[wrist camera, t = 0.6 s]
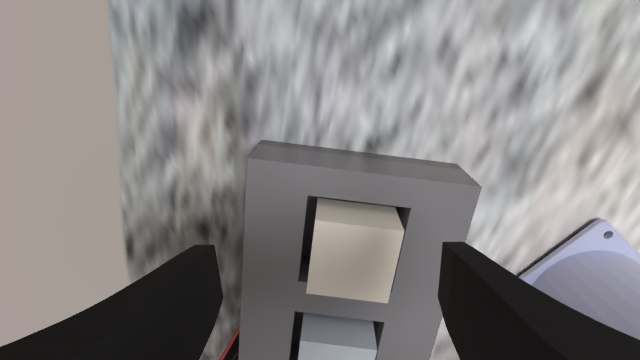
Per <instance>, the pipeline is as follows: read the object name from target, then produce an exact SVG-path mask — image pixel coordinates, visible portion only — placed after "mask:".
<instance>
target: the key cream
mask: <svg viewBox="0 0 640 360" xmlns="http://www.w3.org/2000/svg"><path fill="white" fill-rule="evenodd" d="M403 235H404V229H403V226H402V224H401V221H400V218H399V216H398V213H397V211H396V208H395V207H388V206H380V205H372V204H364V203H355V202H347V201H339V200H331V199H323V198H318V200H317V208H316V216H315V224H314V232H313V240H312V248H311V256H310V264H309V273H308V281H307V289H306V294H315V295H323V296H331V297H339V298H347V299H355V300H363V301H372V302H380V303H388V301H389V296H390V292H391V287H392V283H393V279H394V274H395V270H396V266H397V261H398V257H399V253H400V248H401V244H402V240H403Z"/></svg>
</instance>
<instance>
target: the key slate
mask: <svg viewBox="0 0 640 360" xmlns="http://www.w3.org/2000/svg"><path fill="white" fill-rule="evenodd" d="M376 353H377V345H376V338H375V331H374V324H373V321H370V320H362V319H354V318H346V317H337V316H329V315H321V314H313V313H305V312H304V314H303V322H302V330H301V338H300V346H299V354H298V360H375V357H376Z"/></svg>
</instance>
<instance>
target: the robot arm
mask: <svg viewBox="0 0 640 360" xmlns="http://www.w3.org/2000/svg"><path fill="white" fill-rule="evenodd" d="M607 231H608V233H607V234H606V235H604V233H605V232H607ZM222 299H223V293H222V287H221V281H220V276H219V270H218V264H217V258H216V252H215V246H214V245H195V246H193V247H191V248H189V249H187V250H185V251H184V252H182V253H180V254H179V255H177V256H176V257H174V258H172V259H171V260H169V261H168V262H166V263H165V264H163V265H161V266H160V267H158V268H157V269H155V270H153V271H152V272H150V273H149V274H147V275H146V276H144V277H142V278H141V279H139V280H137V281H136V282H134V283H132V284H131V285H129V286H127V287H125V288H124V289H122V290H120V291H119V292H117V293H115V294H113V295H112V296H110V297H109V298H107V299H105V300H103V301H101V302H99V303H97V304H95V305H94V306H92V307H90V308H88V309H86V310H84V311H82V312H79V313H78V314H76V315H73V316H72V317H69V318H67V319H65V320H63V321H61V322H59V323H56V324H54V325H52V326H49V327H47V328H45V329H42V330H40V331H38V332H36V333H33V334H31V335H28V336H26V337H24V338H22V339H19V340H17V341H14V342H12V343H9V344H7V345H4V346H2V347H0V360H199V358H200V356H201V354H202V352H203V350H204V347H205V345H206V343H207V341H208V339H209V337H210V334H211V332H212V330H213V328H214V325H215V322H216V319H217V316H218V313H219V310H220V306H221V303H222ZM438 300H439V304H440V307H441V311H442V314H443V318H444V321H445V324H446V327H447V330H448V332H449V335H450V337H451V339H452V342H453V344H454V346H455V349H456V351H457V353H458V355H459V358H460V360H640V254H639V253H638V252H637V251H636V250H635V249H634V248H633V247H632V246H631V245H630V244H629V243H628V242H627V241H626V239H625V238H624V237H623V236H622V235H621V234H620V233H619V232H618V231H617V230H616V229H615V228H614V227H613V226H612V225H611V224H610V223H609V222H607V221H606V220H603V219H599V220H596V221H594V222H593V223H591V224H590V225H589V226H587V227H586V228H584V229H583V230H582V231H580V232H579V233H578V234H576V235H575V236H574V237H572V238H571V239H569V240H568V241H567V242H565V243H564V244H563V245H561V246H560V247H559V248H557V249H556V250H555V251H553V252H552V253H550V254H549V255H548V256H546V257H545V258H544V259H542V260H541V261H540V262H538V263H537V264H535V265H534V266H533V267H531V268H530V269H529V270H527V271H526V272H525V273H523V274H522V275H521V276H519V277H517V276H515V275H514V274H512V273H511V272H509V271H508V270H506V269H505V268H503V267H502V266H500V265H499V264H497V263H496V262H494V261H493V260H491V259H490V258H488V257H487V256H485V255H484V254H482V253H481V252H479V251H478V250H476V249H474V248H473V247H471V246H470V245H468V244H466V243H465V242H443V244H442V254H441V265H440V276H439V287H438Z"/></svg>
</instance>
